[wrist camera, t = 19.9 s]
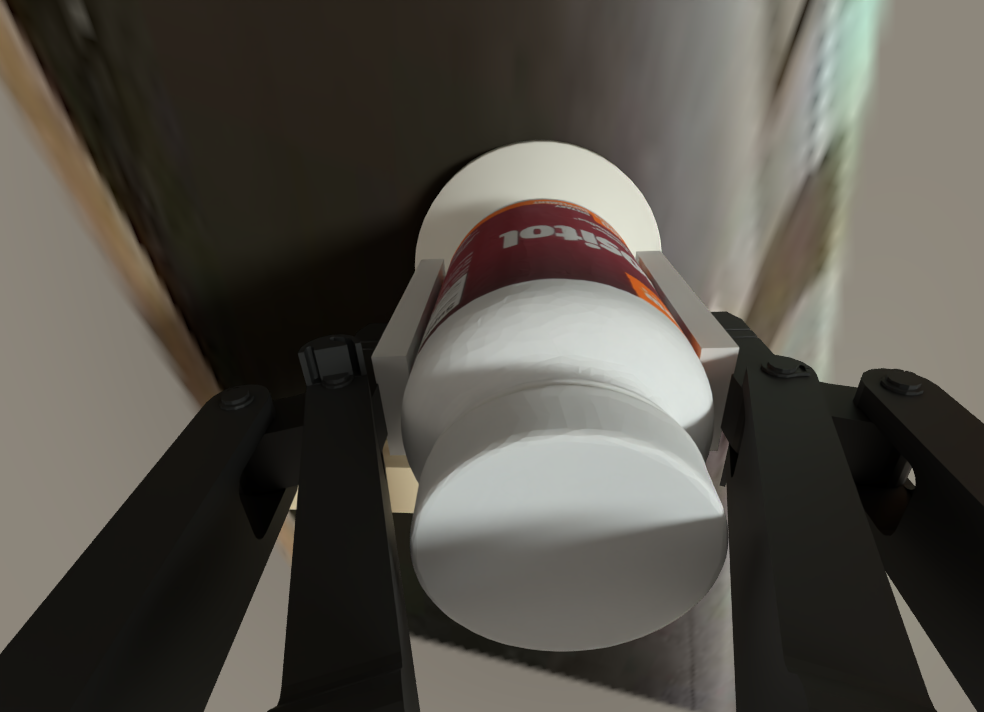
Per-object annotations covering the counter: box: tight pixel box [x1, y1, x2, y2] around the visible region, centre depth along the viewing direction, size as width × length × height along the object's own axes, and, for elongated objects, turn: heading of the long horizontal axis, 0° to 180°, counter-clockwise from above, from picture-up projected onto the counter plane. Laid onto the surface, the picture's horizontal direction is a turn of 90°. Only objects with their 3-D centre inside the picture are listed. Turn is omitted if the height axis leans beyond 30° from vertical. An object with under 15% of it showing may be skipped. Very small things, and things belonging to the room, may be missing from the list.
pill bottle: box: [401, 198, 728, 651], centre depth 12 cm, size 6×6×11 cm
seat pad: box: [415, 140, 662, 273], centre depth 19 cm, size 9×9×1 cm
